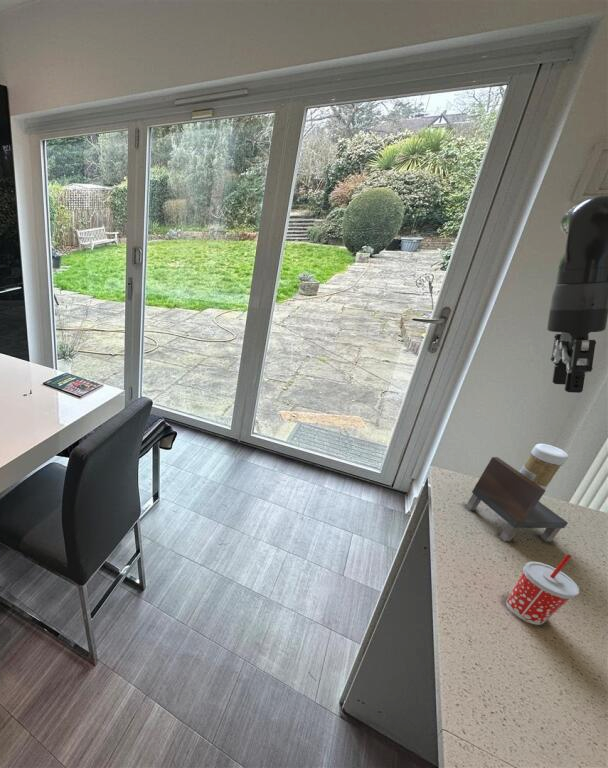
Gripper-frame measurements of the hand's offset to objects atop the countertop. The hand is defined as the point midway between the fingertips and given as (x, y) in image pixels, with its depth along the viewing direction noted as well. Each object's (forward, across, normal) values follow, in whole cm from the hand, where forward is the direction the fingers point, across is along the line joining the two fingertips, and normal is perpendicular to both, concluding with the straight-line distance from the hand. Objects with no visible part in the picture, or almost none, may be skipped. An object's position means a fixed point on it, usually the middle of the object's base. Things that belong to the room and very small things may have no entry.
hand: (566, 387), depth 83 cm
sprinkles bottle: (+23, -9, +6) cm, 26 cm away
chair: (+28, -8, +8) cm, 31 cm away
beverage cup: (+33, -33, +8) cm, 47 cm away
